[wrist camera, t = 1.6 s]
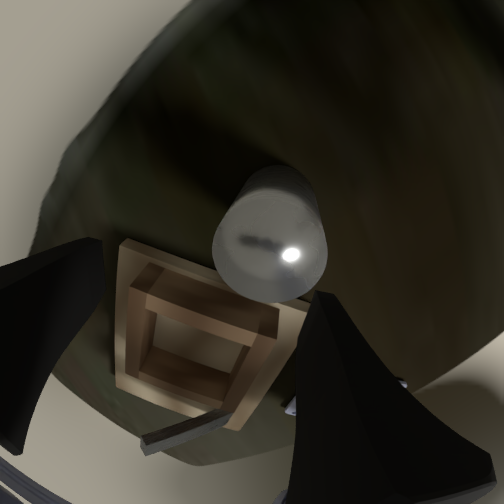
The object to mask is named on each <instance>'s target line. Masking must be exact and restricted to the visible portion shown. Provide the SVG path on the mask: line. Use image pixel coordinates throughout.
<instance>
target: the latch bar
mask: <svg viewBox="0 0 504 504" xmlns="http://www.w3.org/2000/svg"><path fill="white" fill-rule="evenodd" d="M232 415H233V413H231V412H228V411H224V410H221V409H218V408H217V409H215V410H212V411H210V412H207V413H205V414H202V415H199V416H197V417H194V418H192V419H189V420H186V421H184V422H181V423H178V424H175V425H172V426H170V427H167V428H164V429H161V430H158V431H155V432H152V433H148V434H145V435H142V436H141V445H140V447H141V449H142V451H143V453H144V455H145V456H147V455H151V454H154V453H156V452H159V451H162V450H165V449H168V448H171V447H173V446H176V445H179V444H181V443H184V442H186V441H189V440H191V439H194V438H196V437H199V436H201V435H204V434H206V433H208V432H211V431H213V430H215V429H218V428H220V427H222V426H224V425H226V424H227V423H228V421H229V419H230V418H231V416H232Z"/></svg>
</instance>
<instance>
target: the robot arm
mask: <svg viewBox="0 0 504 504" xmlns="http://www.w3.org/2000/svg"><path fill="white" fill-rule="evenodd" d="M105 291H106V283H105V273H104V262H103V249H102V241H101V240H98V239H94V238H90V237H86V238H82V239H78V240H75V241H72V242H68V243H66V244H63V245H60V246H57V247H54V248H52V249H49V250H46V251H44V252H41V253H38V254H36V255H33V256H30V257H27V258H24V259H21V260H18V261H16V262H13V263H10V264H7V265H4V266H1V267H0V445H1V446H2V447H3V448H5V449H6V450H7V451H9V452H10V453H11V454H13V455H16V456H17V455H21V454H22V453H23V448H24V444H25V439H26V435H27V431H28V427H29V424H30V421H31V418H32V415H33V412H34V410H35V407H36V404H37V402H38V399H39V397H40V395H41V392H42V390H43V388H44V386H45V383H46V381H47V379H48V377H49V375H50V373H51V372H52V370H53V368H54V366H55V364H56V362H57V361H58V359H59V358H60V356H61V355H62V353H63V352H64V350H65V349H66V348H67V346H68V345H69V344H70V342H71V341H72V339H73V338H74V337H75V335H76V334H77V333H78V331H79V330H80V329H81V328H82V326H83V325H84V324H85V322H86V321H87V320H88V318H89V317H90V316H91V314H92V313H93V312H94V310H95V308H96V307H97V305H98V303H99V302H100V300H101V298H102V296H103V294H104V292H105ZM406 387H407V384H406V382H404V381H399V380H397V379H396V377H395V376H394V375H393V374H392V373H391V372H390V371H389V370H388V368H387V367H386V366H385V365H384V364H383V362H382V361H381V360H380V358H379V357H378V356H377V355H376V353H375V352H374V351H373V349H372V348H371V347H370V345H369V344H368V343H367V341H366V340H365V339H364V337H363V336H362V334H361V333H360V331H359V330H358V329H357V327H356V326H355V324H354V323H353V321H352V320H351V318H350V317H349V315H348V314H347V312H346V311H345V309H344V308H343V306H342V305H341V303H340V302H339V300H338V299H337V298H336V296H335V295H334V294H331V293H326V292H321V291H317V290H315V293H314V296H313V298H312V301H311V304H310V307H309V309H308V312H307V315H306V317H305V320H304V322H303V325H302V328H301V330H300V333H299V335H298V339H297V348H296V359H295V391H296V396H295V397H294V398H293V399H292V401H291V402H290V403H289V404H288V405H287V407H286V408H285V413H287V414H290V415H295V416H296V435H295V444H294V453H293V461H292V467H291V474H290V480H289V486H288V489H287V490H283V491H282V492H281V493H280V494H279V495H278V497H277V498H276V499H275V500H274V502H273V504H470V503H472V502H474V501H476V500H477V499H479V498H481V497H482V496H484V495H486V494H487V493H488V492H490V491H491V490H492V489H493V488H494V487H495V486H496V484H497V480H496V476H495V471H494V467H493V463H492V459H491V456H490V454H489V453H487V452H486V451H484V450H482V449H481V448H479V447H478V446H476V445H474V444H473V443H471V442H470V441H468V440H466V439H465V438H463V437H462V436H460V435H459V434H457V433H456V432H455V431H453V430H452V429H451V428H450V427H448V426H447V425H445V424H444V423H443V422H442V421H440V420H439V419H438V418H437V417H436V416H434V415H433V414H432V413H431V412H430V411H429V410H427V409H426V408H425V407H424V406H423V405H422V404H421V403H420V402H419V401H418V400H417V399H416V398H415V397H414V396H413V395H412V394H411V393H410V392H409V391H408V390H407V389H406ZM0 480H1V481H2V482H3V483H4V484H6V485H7V486H8V487H9V488H11V489H12V490H13V491H15V492H16V493H17V494H19V495H20V496H22V497H23V498H24V499H26V500H27V501H29V502H30V503H32V504H72V503H70V502H68V501H66V500H64V499H63V498H61V497H59V496H57V495H56V494H54V493H52V492H51V491H49V490H47V489H46V488H44V487H43V486H41V485H39V484H38V483H36V482H35V481H33V480H32V479H30V478H29V477H27V476H26V475H24V474H23V473H22V472H20V471H19V470H18V469H16V468H15V467H13V466H12V465H11V464H9V463H8V462H7V461H5V460H4V459H3V458H2V457H0ZM0 504H23V503H22V502H21V501H20V500H19V499H18V498H17V497H15V496H14V495H13V494H12V493H11V492H9V491H8V490H7V489H5V488H4V487H2V486H1V485H0Z"/></svg>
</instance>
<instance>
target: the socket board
mask: <svg viewBox="0 0 504 504" xmlns="http://www.w3.org/2000/svg"><path fill="white" fill-rule="evenodd" d="M310 304H311V303H308V302H305V301H302V300H299V299H296V298H295V299H292V300H289V301H285V302H279V303H265V302H259V301H255V300H251V299H249V298H246V297H244V296H242V295H240V294H239V293H237V292H236V291H234V290H233V289H232V288H231V287H229V286H228V285H227V284H226V282H225V281H224V280H223V279H222V277H221V276H220V275H219V273H218V271H215V270H212V269H210V268H207V267H204V266H201V265H199V264H196V263H193V262H190V261H188V260H185V259H182V258H180V257H177V256H174V255H172V254H169V253H166V252H163V251H161V250H158V249H156V248H153V247H150V246H148V245H145V244H142V243H140V242H137V241H135V240H132V239H129V238H127V239H126V240H125V241H124V242H122V243H121V244H120V246H119V257H118V268H117V283H116V303H115V375H116V387H118V388H120V389H122V390H124V391H126V392H129V393H131V394H133V395H135V396H138V397H140V398H143V399H145V400H147V401H150V402H152V403H155V404H157V405H160V406H162V407H165V408H168V409H170V410H173V411H176V412H178V413H181V414H184V415H187V416H190V417H193V418H194V417H197V416H199V415H202V414H205V413H207V412H210V411H212V410H215V409H217V408H218V409H221V410H224V411H228V412H231V413H233V415H232V416H231V418H230V419H229V421H228V423H227V424H226V425H224V426H222V427H225V428H229V429H232V430H236V431H239V430H240V429H241V428H242V426H243V425H244V423H245V422H246V421H247V419H248V418H249V417H250V415H251V414H252V412H253V411H254V410H255V408H256V407H257V405H258V404H259V402H260V401H261V399H262V398H263V397H264V395H265V394H266V392H267V391H268V389H269V388H270V386H271V385H272V383H273V382H274V380H275V379H276V377H277V376H278V374H279V373H280V371H281V370H282V368H283V367H284V365H285V364H286V362H287V360H288V359H289V357H290V356H291V354H292V353H293V351H294V349H295V348H296V346H297V339H298V335H299V333H300V330H301V328H302V325H303V322H304V320H305V317H306V315H307V312H308V309H309V307H310Z"/></svg>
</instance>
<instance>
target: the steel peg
mask: <svg viewBox="0 0 504 504" xmlns="http://www.w3.org/2000/svg"><path fill="white" fill-rule="evenodd" d="M212 253H213V259H214V263H215V266H216V269H217V271H218V273H219V275H220V276H221V277H222V279H223V280H224V281H225V282H226V284H227V285H228V286H229V287H231V288H232V289H233V290H234V291H236V292H237V293H239V294H240V295H242V296H244V297H246V298H249V299H251V300H255V301H259V302H265V303H279V302H285V301H289V300H292V299H295V298H297V297H299V296H301V295H303V294H305V293H306V292H307V291H309V290H310V289H311V288H312V287H313V286H314V285H315V284H316V283H317V282H318V281H319V279H320V277H321V276H322V274H323V272H324V269H325V266H326V263H327V244H326V239H325V235H324V230H323V226H322V222H321V218H320V214H319V210H318V206H317V202H316V198H315V194H314V191H313V188H312V186H311V184H310V182H309V181H308V179H307V178H306V177H305V176H304V175H303V174H302V173H300V172H299V171H297V170H296V169H293V168H291V167H288V166H283V165H271V166H267V167H264V168H261V169H259V170H258V171H256V172H255V173H253V174H252V175H251V176H250V177H249V179H248V180H247V181H246V183H245V184H244V186H243V188H242V189H241V191H240V192H239V194H238V195H237V197H236V199H235V200H234V202H233V203H232V205H231V207H230V208H229V210H228V211H227V213H226V215H225V216H224V218H223V220H222V221H221V223H220V224H219V226H218V228H217V230H216V233H215V235H214V239H213V246H212Z"/></svg>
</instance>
